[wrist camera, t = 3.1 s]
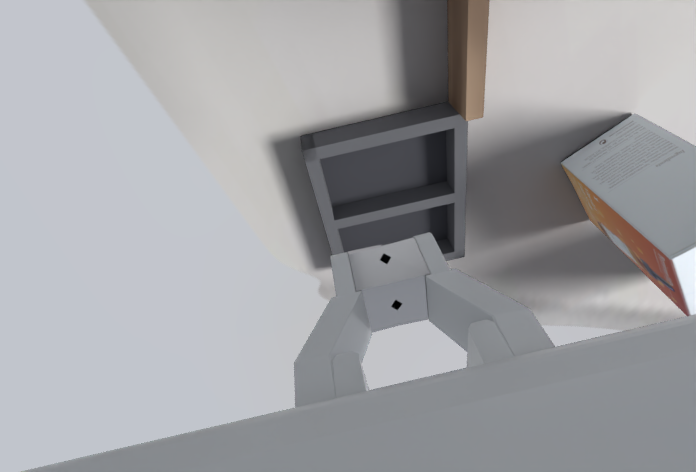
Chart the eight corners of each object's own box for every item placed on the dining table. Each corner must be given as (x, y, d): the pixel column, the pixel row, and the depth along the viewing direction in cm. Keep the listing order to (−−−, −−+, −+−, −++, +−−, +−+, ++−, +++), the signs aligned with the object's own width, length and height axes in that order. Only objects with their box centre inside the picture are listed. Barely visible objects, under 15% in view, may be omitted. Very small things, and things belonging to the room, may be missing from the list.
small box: (557, 160, 28) (668, 258, 20) (635, 109, 26) (792, 195, 18) (588, 221, 32) (689, 322, 24) (656, 182, 30) (790, 276, 22)
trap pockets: (456, 99, 24) (468, 112, 22) (455, 240, 32) (464, 256, 30) (300, 136, 24) (301, 150, 22) (338, 266, 32) (341, 284, 30)
